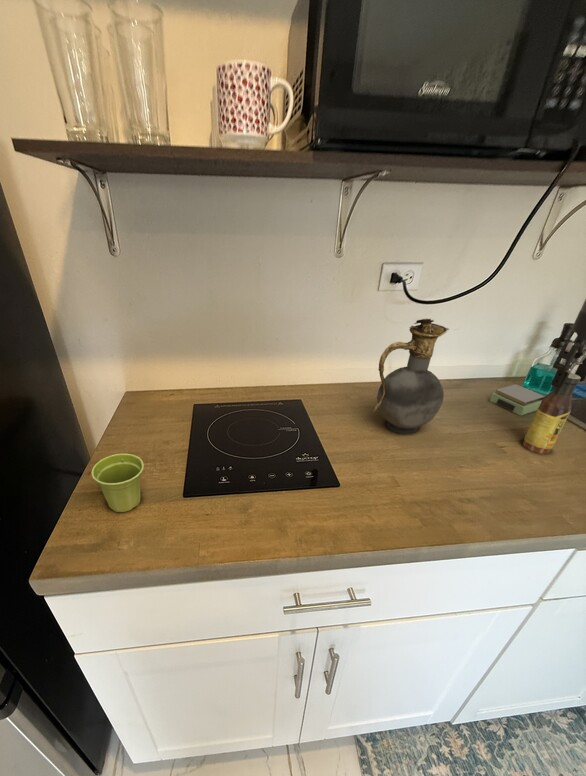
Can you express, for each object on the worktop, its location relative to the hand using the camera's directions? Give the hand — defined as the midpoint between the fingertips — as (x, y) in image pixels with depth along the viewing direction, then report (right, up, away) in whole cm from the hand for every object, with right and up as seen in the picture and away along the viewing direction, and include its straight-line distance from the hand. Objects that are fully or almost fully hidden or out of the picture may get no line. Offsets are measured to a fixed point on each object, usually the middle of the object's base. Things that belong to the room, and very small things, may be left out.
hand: (567, 383), depth 89 cm
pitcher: (-34, -10, +16) cm, 39 cm away
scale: (+7, -3, +29) cm, 30 cm away
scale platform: (+7, 0, +27) cm, 28 cm away
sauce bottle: (0, -15, +10) cm, 18 cm away
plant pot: (-97, -25, -11) cm, 101 cm away
